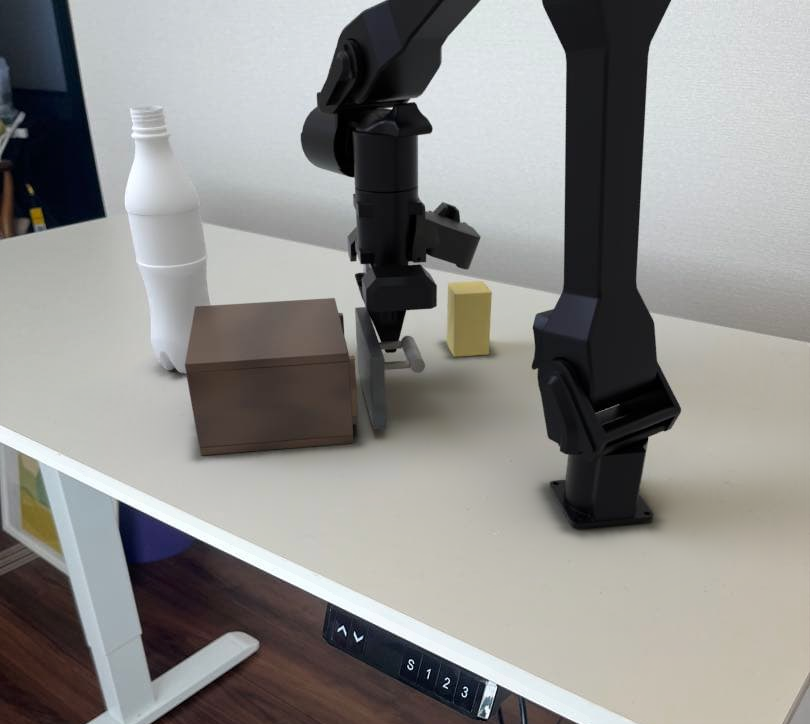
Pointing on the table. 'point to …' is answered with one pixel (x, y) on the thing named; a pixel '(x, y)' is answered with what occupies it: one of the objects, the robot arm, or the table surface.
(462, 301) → the block
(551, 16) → the robot arm
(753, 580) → the table surface
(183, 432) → the table surface
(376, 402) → the drawer
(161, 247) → the water bottle
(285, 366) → the cabinet
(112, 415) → the table surface
